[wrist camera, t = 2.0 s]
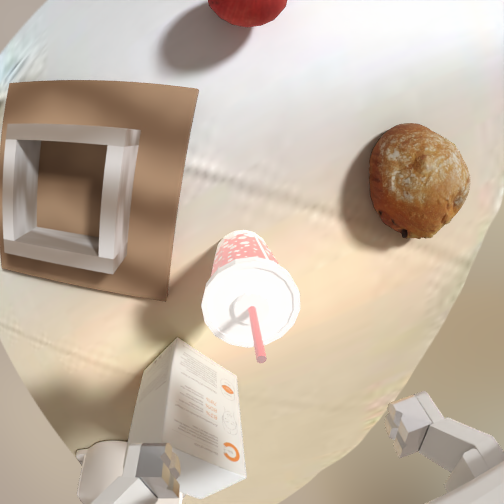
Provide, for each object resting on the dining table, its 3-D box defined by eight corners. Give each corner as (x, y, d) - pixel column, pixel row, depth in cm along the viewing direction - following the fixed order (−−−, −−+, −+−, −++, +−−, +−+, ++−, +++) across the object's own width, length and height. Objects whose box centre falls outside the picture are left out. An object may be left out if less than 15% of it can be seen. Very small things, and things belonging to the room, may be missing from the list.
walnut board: (167, 296, 29) (158, 326, 24) (6, 264, 26) (-20, 284, 21) (198, 90, 23) (193, 79, 18) (15, 84, 20) (-16, 79, 15)
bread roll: (433, 156, 30) (481, 131, 22) (435, 249, 29) (492, 240, 21) (356, 131, 29) (399, 91, 21) (353, 234, 27) (406, 217, 20)
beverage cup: (195, 271, 28) (178, 381, 15) (225, 208, 26) (231, 283, 13) (256, 297, 29) (283, 412, 16) (289, 239, 28) (346, 330, 15)
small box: (143, 369, 31) (119, 468, 19) (177, 334, 30) (161, 441, 18) (201, 404, 34) (200, 501, 22) (238, 375, 33) (249, 478, 20)
